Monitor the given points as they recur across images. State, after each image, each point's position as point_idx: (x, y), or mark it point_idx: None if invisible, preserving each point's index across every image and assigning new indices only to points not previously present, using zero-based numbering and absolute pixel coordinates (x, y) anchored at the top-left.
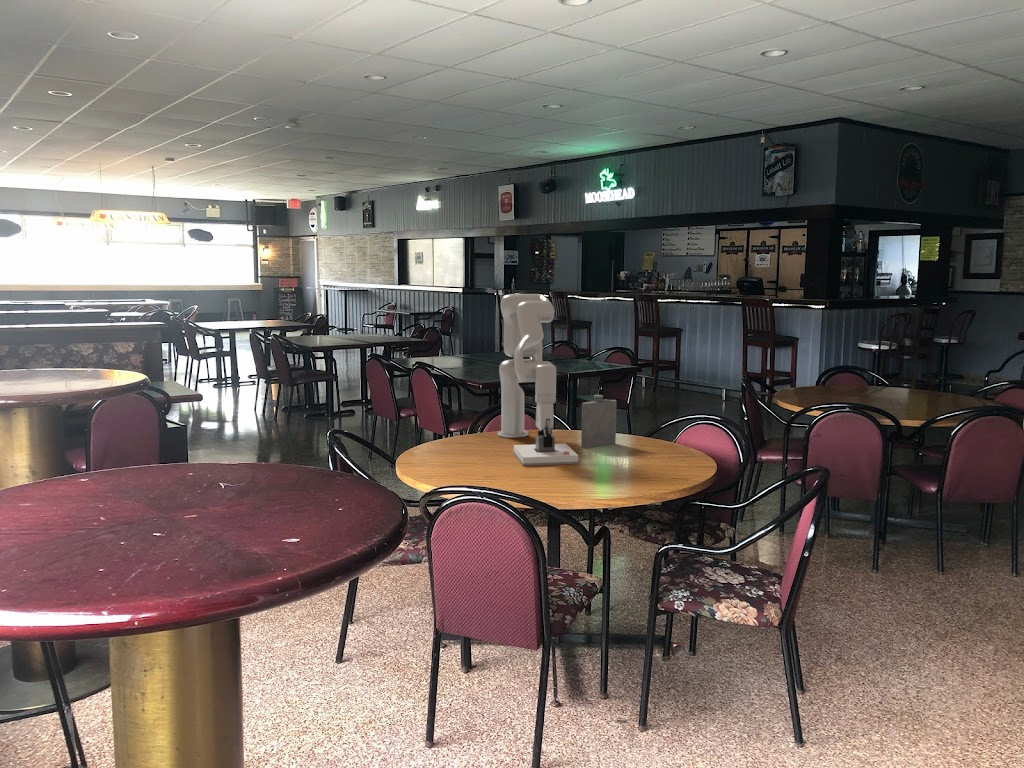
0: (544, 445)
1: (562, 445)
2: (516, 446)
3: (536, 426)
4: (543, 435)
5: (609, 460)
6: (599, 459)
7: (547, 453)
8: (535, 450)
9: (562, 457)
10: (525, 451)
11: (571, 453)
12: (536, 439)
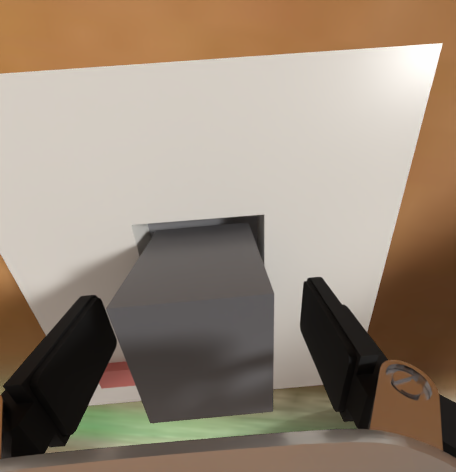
0: (75, 309)
1: (312, 368)
2: (375, 69)
3: (315, 443)
4: (265, 359)
5: (167, 440)
6: (181, 422)
7: (109, 287)
8: (261, 224)
9: None
10: (162, 137)
11: (125, 387)
12: (225, 275)
